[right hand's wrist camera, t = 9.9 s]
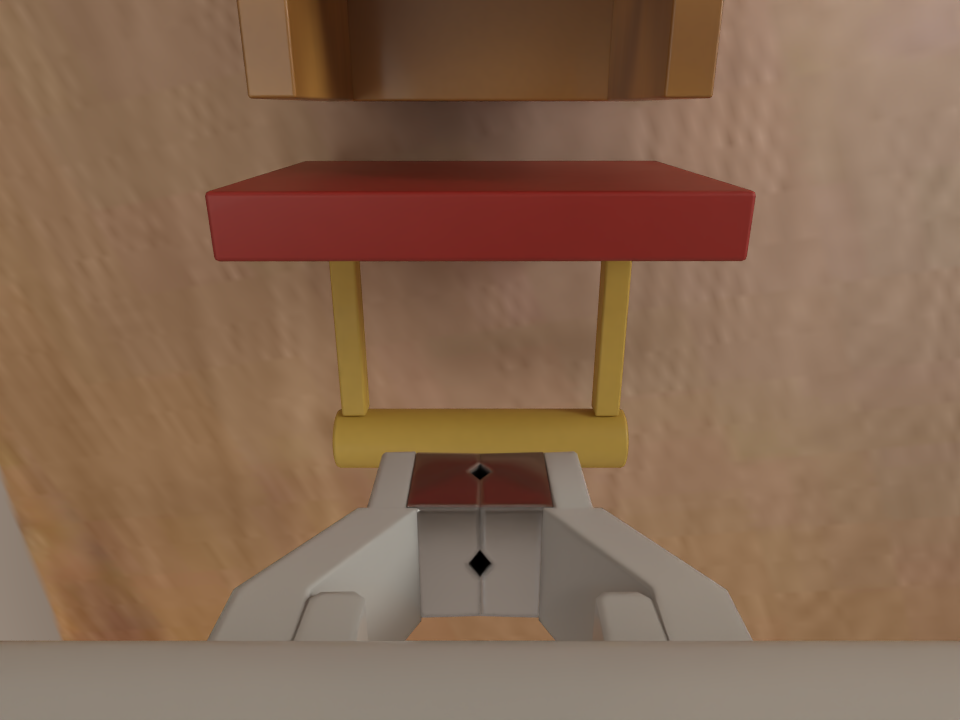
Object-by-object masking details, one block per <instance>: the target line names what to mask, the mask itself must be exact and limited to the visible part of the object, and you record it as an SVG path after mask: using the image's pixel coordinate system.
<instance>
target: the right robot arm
mask: <svg viewBox="0 0 960 720" xmlns="http://www.w3.org/2000/svg"><path fill="white" fill-rule="evenodd" d="M457 616H502V617H539V621H540V622H541V623H542V625H543V626H544V627H545V628H546V629H547V631H548V632H549V633H550V634H551V636H552V637H553V638H554V639H555V640H556V641H405V640H406V639H407V637H408V636H409V635H410V634H411V632H412V631H413V630H414V629H415V628H416V626H417V625H418V624H419V623H420V622H421V617H457ZM0 720H960V641H753V640H752V638H751V636H750V634H749V632H748V630H747V628H746V626H745V624H744V622H743V620H742V618H741V616H740V614H739V612H738V610H737V609H736V607H735V605H734V603H733V601H732V599H731V597H730V595H729V593H728V591H727V590H726V589H725V588H723V587H722V586H720V585H719V584H717V583H716V582H714V581H713V580H711V579H710V578H708V577H706V576H705V575H703V574H702V573H700V572H699V571H697V570H696V569H694V568H693V567H691V566H690V565H688V564H687V563H685V562H684V561H682V560H681V559H679V558H678V557H676V556H674V555H673V554H671V553H670V552H668V551H667V550H665V549H664V548H662V547H661V546H659V545H658V544H656V543H655V542H653V541H652V540H650V539H649V538H647V537H646V536H644V535H643V534H641V533H639V532H638V531H636V530H635V529H633V528H632V527H630V526H629V525H627V524H626V523H624V522H623V521H621V520H620V519H618V518H617V517H615V516H614V515H612V514H611V513H609V512H607V511H606V510H604V509H603V508H593V506H592V503H591V500H590V496H589V493H588V489H587V486H586V482H585V479H584V475H583V472H582V468H581V465H580V462H579V458H578V455H577V453H576V452H574V451H570V452H548V453H543V452H524V453H482V454H480V453H436V452H418V453H416V452H415V451H412V452H385V453H384V454H383V455H382V457H381V461H380V464H379V468H378V471H377V475H376V478H375V482H374V485H373V489H372V492H371V496H370V499H369V503H368V506H367V508H357V509H356V510H354V511H352V512H351V513H349V514H348V515H346V516H345V517H343V518H342V519H340V520H339V521H337V522H336V523H334V524H333V525H331V526H330V527H328V528H326V529H325V530H323V531H322V532H320V533H319V534H317V535H316V536H314V537H313V538H311V539H310V540H308V541H307V542H305V543H304V544H302V545H300V546H299V547H297V548H296V549H294V550H293V551H291V552H290V553H288V554H287V555H285V556H284V557H282V558H281V559H279V560H278V561H276V562H274V563H273V564H271V565H270V566H268V567H267V568H265V569H264V570H262V571H261V572H259V573H258V574H256V575H255V576H253V577H252V578H250V579H248V580H247V581H245V582H244V583H242V584H241V585H239V586H238V587H236V588H235V589H234V590H233V592H232V594H231V596H230V597H229V599H228V601H227V603H226V605H225V607H224V609H223V611H222V613H221V615H220V617H219V619H218V621H217V623H216V624H215V626H214V628H213V630H212V632H211V634H210V636H209V638H208V640H207V641H0Z"/></svg>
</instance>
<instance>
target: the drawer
mask: <svg viewBox="0 0 960 720" xmlns="http://www.w3.org/2000/svg"><path fill="white" fill-rule="evenodd" d="M723 3H724V0H237V7H238V15H239V24H240V32H241V40H242V49H243V57H244V65H245V74H246V82H247V90H248V96H249V98H252V99H279V100H306V101H646V100H672V99H697V98H710V97H712V95H713V87H714V79H715V70H716V62H717V54H718V45H719V37H720V28H721V20H722V11H723ZM755 197H756V195H755V192H753V191H751V190H748V189H744V188H741V187H738V186H735V185H731V184H728V183H725V182H722V181H719V180H715V179H712V178H709V177H706V176H702V175H699V174H696V173H693V172H689V171H686V170H683V169H680V168H677V167H673V166H670V165H667V164H664V163H660V162H657V161H305V162H302V163H298V164H295V165H292V166H289V167H286V168H282V169H279V170H276V171H273V172H269V173H266V174H263V175H260V176H256V177H253V178H250V179H247V180H244V181H240V182H237V183H234V184H231V185H227V186H224V187H221V188H218V189H215V190H211V191H209V192H206V195H205V198H206V205H207V212H208V218H209V225H210V232H211V238H212V245H213V252H214V257H215V260H218V261H329V266H330V278H331V289H332V301H333V313H334V324H335V336H336V348H337V359H338V371H339V383H340V394H341V406H342V409H341V410H339V411H338V412H337V415H336V417H335V421H334V427H333V454H334V459H335V463H336V465H337V466H338V467H340V468H379V464H380V461H381V457H382V455H383V454H384V453H385V452H412V451H415V452H416V453H418V452H436V453H480V454H482V453H524V452H543V453H548V452H570V451H574V452H576V453H577V455H578V458H579V462H580V465H581V468H621V467H623V466H624V465H625V463H626V460H627V456H628V445H629V437H628V426H627V420H626V417H625V414H624V412H623V410H621V409H620V397H621V385H622V374H623V362H624V350H625V338H626V326H627V314H628V302H629V291H630V279H631V267H632V261H742V260H745V259H746V257H747V251H748V244H749V237H750V230H751V224H752V217H753V210H754V203H755ZM360 261H601V273H600V288H599V303H598V318H597V333H596V348H595V362H594V377H593V392H592V408H593V409H368V408H369V392H368V377H367V362H366V348H365V333H364V319H363V304H362V289H361V275H360Z"/></svg>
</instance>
